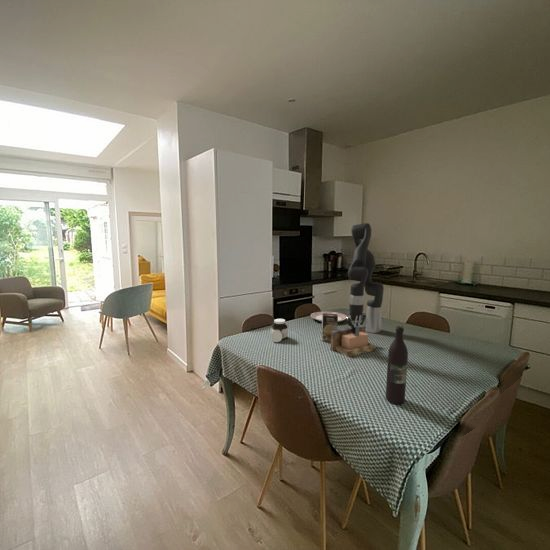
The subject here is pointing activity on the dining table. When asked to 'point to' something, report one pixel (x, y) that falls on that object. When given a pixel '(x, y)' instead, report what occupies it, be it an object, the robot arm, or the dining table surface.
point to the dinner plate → (319, 314)
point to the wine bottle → (397, 369)
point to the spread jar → (279, 330)
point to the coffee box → (328, 325)
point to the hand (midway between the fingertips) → (355, 332)
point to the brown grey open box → (337, 341)
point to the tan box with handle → (354, 340)
